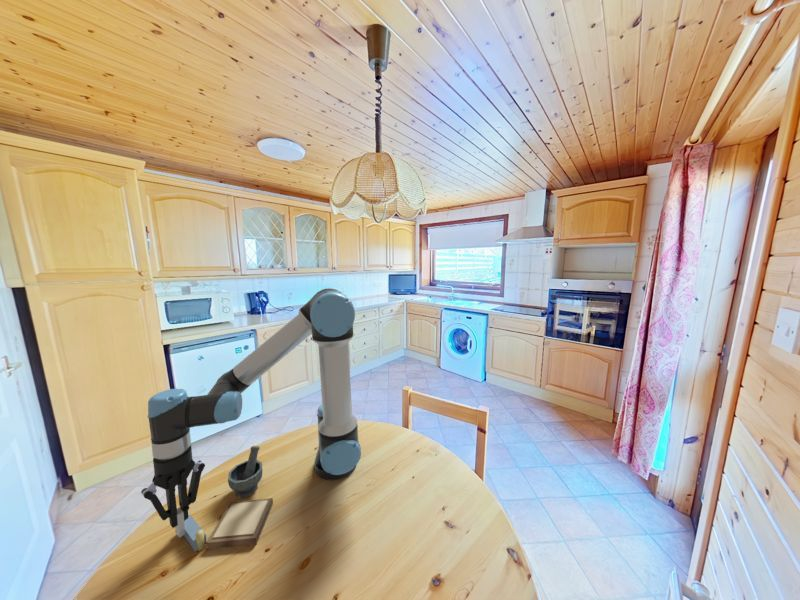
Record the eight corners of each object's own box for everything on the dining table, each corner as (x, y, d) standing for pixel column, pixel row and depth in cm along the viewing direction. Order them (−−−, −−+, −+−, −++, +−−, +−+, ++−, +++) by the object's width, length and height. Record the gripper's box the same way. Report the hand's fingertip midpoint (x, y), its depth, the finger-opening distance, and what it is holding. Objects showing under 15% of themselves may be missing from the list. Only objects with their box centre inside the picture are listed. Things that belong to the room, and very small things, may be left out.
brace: (208, 545, 70) (206, 530, 69) (196, 553, 68) (194, 538, 67) (191, 523, 76) (189, 509, 75) (180, 530, 73) (178, 516, 73)
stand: (273, 504, 82) (272, 497, 81) (256, 544, 70) (255, 536, 70) (231, 507, 81) (230, 500, 80) (207, 549, 69) (206, 541, 68)
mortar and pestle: (249, 505, 81) (247, 469, 80) (222, 501, 83) (218, 465, 81) (272, 476, 93) (270, 444, 91) (247, 473, 94) (245, 441, 92)
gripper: (196, 433, 76) (202, 508, 79) (134, 459, 66) (143, 545, 68) (207, 442, 72) (214, 521, 75) (143, 472, 62) (153, 563, 64)
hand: (180, 533), depth 72 cm, fingers closed
